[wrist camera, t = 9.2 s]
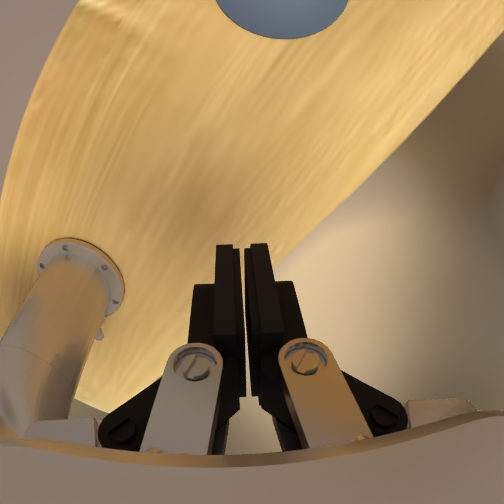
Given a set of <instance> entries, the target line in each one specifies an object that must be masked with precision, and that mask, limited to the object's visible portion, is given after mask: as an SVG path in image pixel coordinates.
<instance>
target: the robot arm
mask: <svg viewBox="0 0 504 504" xmlns="http://www.w3.org/2000/svg"><path fill="white" fill-rule="evenodd" d="M244 262H245V316H246V329H247V343H248V355H249V369H250V381H251V393H252V396H258V398H259V405H261V408H262V409H263V410H265V411H266V412H268V413H269V414H271V415H272V419H273V424H274V427H275V430H276V433H277V436H278V440H279V442H280V446H281V449H282V452H274V453H260V454H242V455H225V450H226V443H227V435H228V429H229V418H230V417H232V416H233V415H234V414H235V413H236V412H237V411H238V410H240V403H239V397H246V364H245V363H246V361H245V327H244V314H243V313H244V312H243V298H242V283H241V267H240V252H239V248H238V249H233V244H229V245H216V263H215V284H195V285H194V289H193V297H192V306H191V315H190V325H189V335H188V344H186V345H183V346H181V347H179V348H177V349H176V350H175V351H174V352H173V353H172V354H171V355H170V357H169V359H168V361H167V364H166V367H165V370H164V373H163V376H162V377H161V378H160V379H158V380H157V381H156V382H154V383H153V384H151V385H150V386H149V387H147V388H146V389H144V390H143V391H141V392H140V393H139V394H137V395H136V396H134V397H133V398H131V399H130V400H128V401H127V402H126V403H124V404H123V405H121V406H120V407H118V408H117V409H115V410H114V411H112V412H111V413H109V414H108V415H107V416H106V417H105V418H104V419H102V420H96V419H95V418H94V417H92V418H79V419H68V415H69V412H70V409H71V405H72V402H73V399H74V396H75V392H76V389H77V386H78V383H79V380H80V377H81V374H82V371H83V368H84V366H85V363H86V360H87V357H88V354H89V352H90V349H91V346H92V344H93V341H94V338H95V339H96V340H101V339H103V337H104V334H103V332H102V330H101V328H100V327H101V325H102V322H103V319H104V317H107V316H109V315H111V314H113V313H114V312H115V311H117V310H118V308H119V307H120V305H121V303H122V300H123V297H124V292H125V291H124V282H123V279H122V276H121V274H120V272H119V270H118V269H117V267H116V266H115V264H114V263H113V262H112V261H111V260H110V259H109V257H108V256H107V255H105V254H104V253H103V252H102V251H100V250H99V249H98V248H96V247H94V246H92V245H91V244H89V243H86V242H84V241H81V240H76V239H68V238H64V239H58V240H55V241H53V242H51V243H50V244H49V245H47V246H46V247H45V249H44V250H43V251H42V253H41V255H40V257H39V260H38V274H39V278H38V279H37V281H36V282H35V284H34V286H33V287H32V289H31V290H30V292H29V293H28V295H27V297H26V298H25V300H24V301H23V303H22V305H21V306H20V308H19V310H18V311H17V313H16V315H15V316H14V318H13V320H12V322H11V323H10V325H9V327H8V329H7V330H6V332H5V334H4V336H3V338H2V339H1V341H0V504H504V411H500V410H482V411H477V410H476V407H475V406H474V405H473V404H472V403H471V402H470V401H468V400H466V399H460V398H457V399H441V400H408V401H407V403H402V404H401V403H400V402H398V401H397V400H395V399H394V398H392V397H390V396H388V395H386V394H384V393H382V392H380V391H379V390H377V389H375V388H373V387H371V386H369V385H367V384H365V383H363V382H361V381H359V380H358V379H356V378H354V377H352V376H350V375H349V374H347V373H345V372H343V371H342V370H340V368H339V366H338V364H337V362H336V360H335V358H334V356H333V354H332V352H331V351H330V350H329V348H328V347H327V346H326V345H324V344H323V343H322V342H320V341H317V340H315V339H310V338H307V334H306V330H305V326H304V322H303V318H302V314H301V311H300V307H299V303H298V299H297V295H296V292H295V288H294V285H293V282H292V281H278V282H277V281H275V280H274V275H273V269H272V265H271V260H270V255H269V250H268V245H267V243H259V244H251V246H250V248H244Z"/></svg>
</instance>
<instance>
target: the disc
mask: <svg viewBox="0 0 504 504" xmlns="http://www.w3.org/2000/svg"><path fill="white" fill-rule="evenodd" d="M216 1H217V3H218V4H219V6H220V8H221V9H222V10H223V12H224V13H225V14H226V15H227V16H228V17H229V18H230V19H231V20H232V21H234V22H235V23H236V24H238V25H239V26H241V27H243V28H244V29H246V30H248V31H250V32H253V33H255V34H258V35H261V36H265V37H270V38H277V39H294V38H301V37H306V36H309V35H312V34H315V33H317V32H319V31H321V30H323V29H325V28H327V27H328V26H330V25H331V24H332V23H333V22H334V21H336V19H337V18H338V17H339V16H340V15H341V13H342V12H343V10H344V9H345V7H346V4H347V2H348V0H216Z"/></svg>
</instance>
